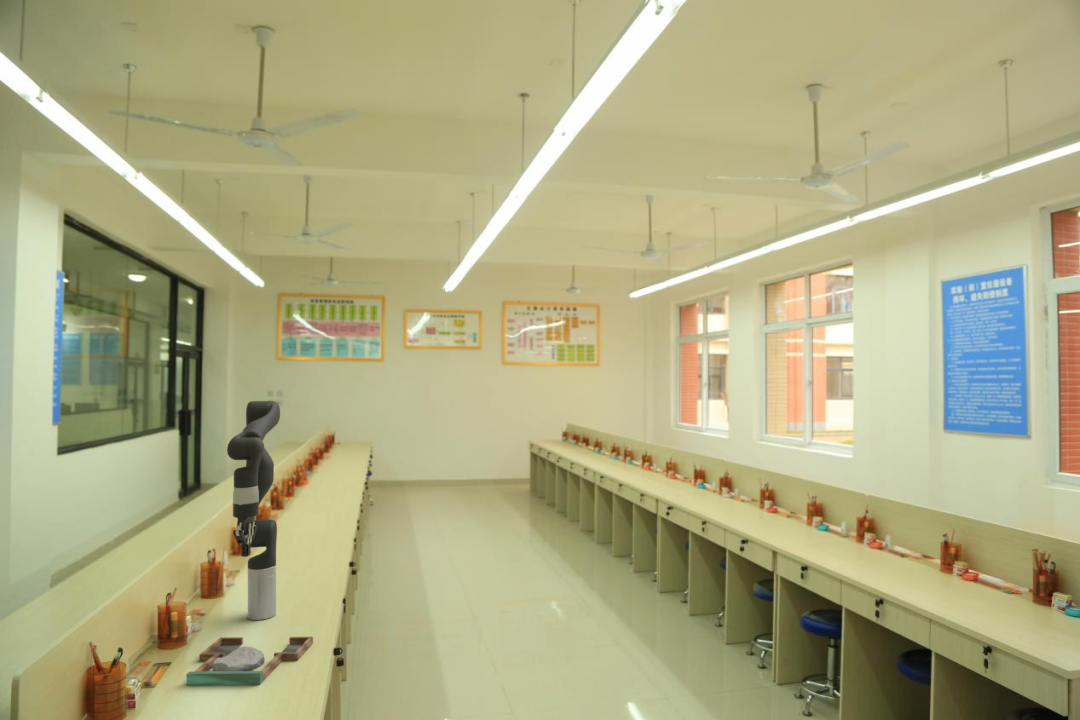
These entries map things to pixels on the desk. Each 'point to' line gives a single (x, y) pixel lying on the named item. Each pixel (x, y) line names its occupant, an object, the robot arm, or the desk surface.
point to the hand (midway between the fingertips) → (245, 556)
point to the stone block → (240, 660)
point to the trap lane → (242, 677)
